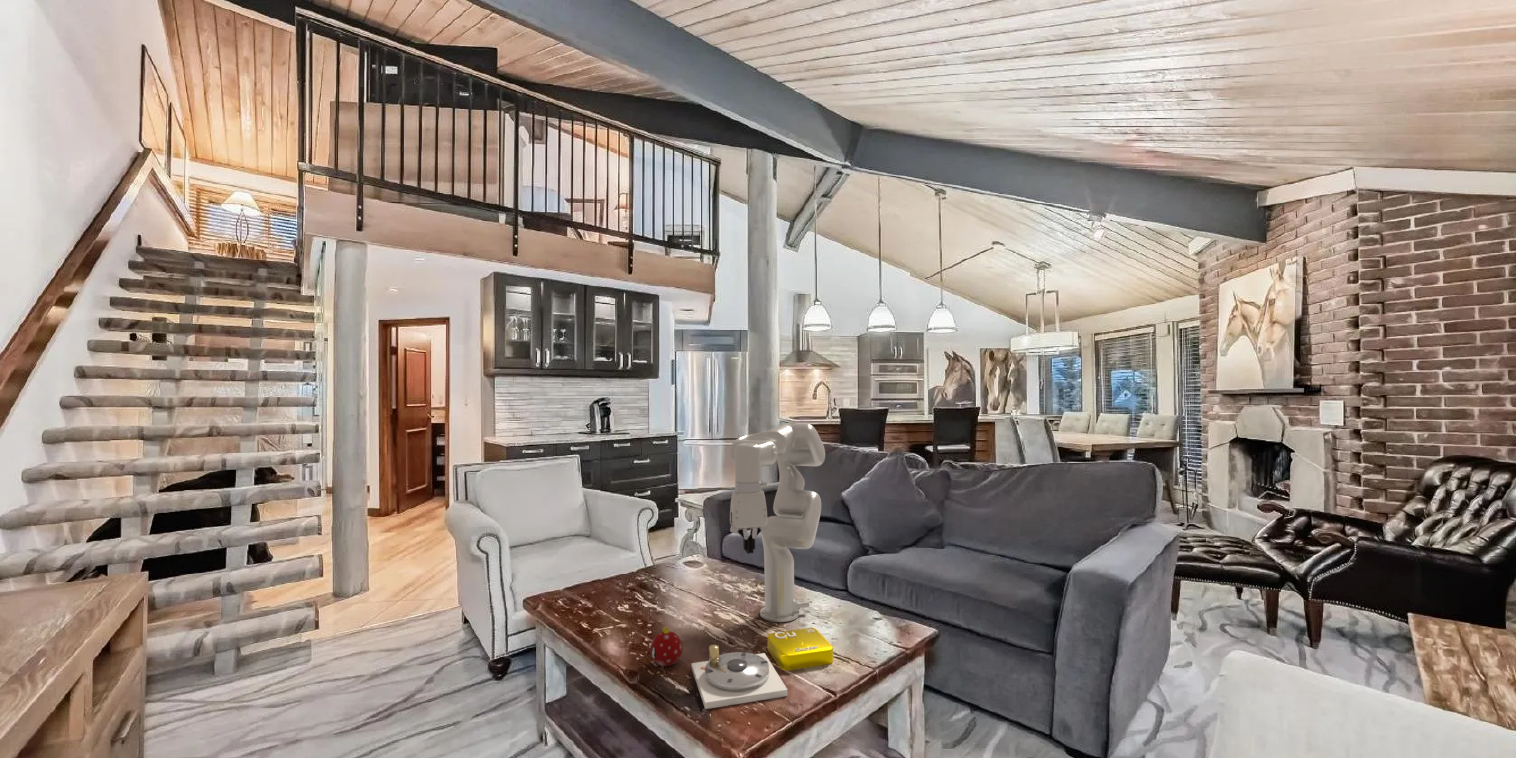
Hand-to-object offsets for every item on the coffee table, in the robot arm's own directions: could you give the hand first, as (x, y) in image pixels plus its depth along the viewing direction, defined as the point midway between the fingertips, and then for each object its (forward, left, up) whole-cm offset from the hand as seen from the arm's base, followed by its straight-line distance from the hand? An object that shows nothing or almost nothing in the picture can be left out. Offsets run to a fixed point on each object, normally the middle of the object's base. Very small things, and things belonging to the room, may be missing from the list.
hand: (749, 552), depth 169 cm
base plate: (+8, +18, -27) cm, 33 cm away
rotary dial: (+8, +18, -25) cm, 32 cm away
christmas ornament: (+24, +3, -27) cm, 36 cm away
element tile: (-12, +8, -28) cm, 31 cm away
